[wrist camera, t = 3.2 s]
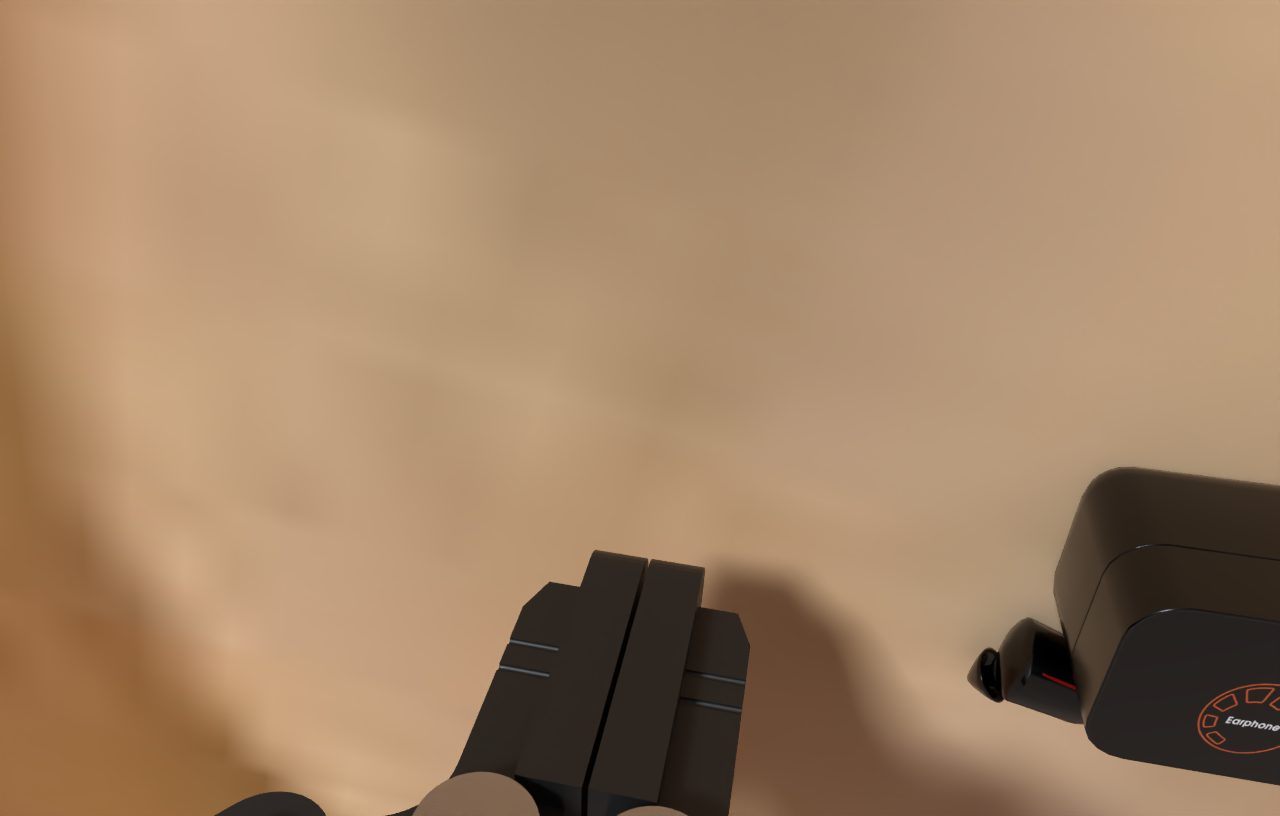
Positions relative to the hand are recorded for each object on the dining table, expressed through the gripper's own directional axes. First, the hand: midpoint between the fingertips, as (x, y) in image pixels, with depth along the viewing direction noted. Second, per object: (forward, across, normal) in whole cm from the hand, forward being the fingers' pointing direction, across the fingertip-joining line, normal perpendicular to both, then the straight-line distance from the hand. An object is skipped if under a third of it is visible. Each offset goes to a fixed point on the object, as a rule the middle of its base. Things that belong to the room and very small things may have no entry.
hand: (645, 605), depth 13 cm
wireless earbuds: (+3, -8, 0) cm, 9 cm away
